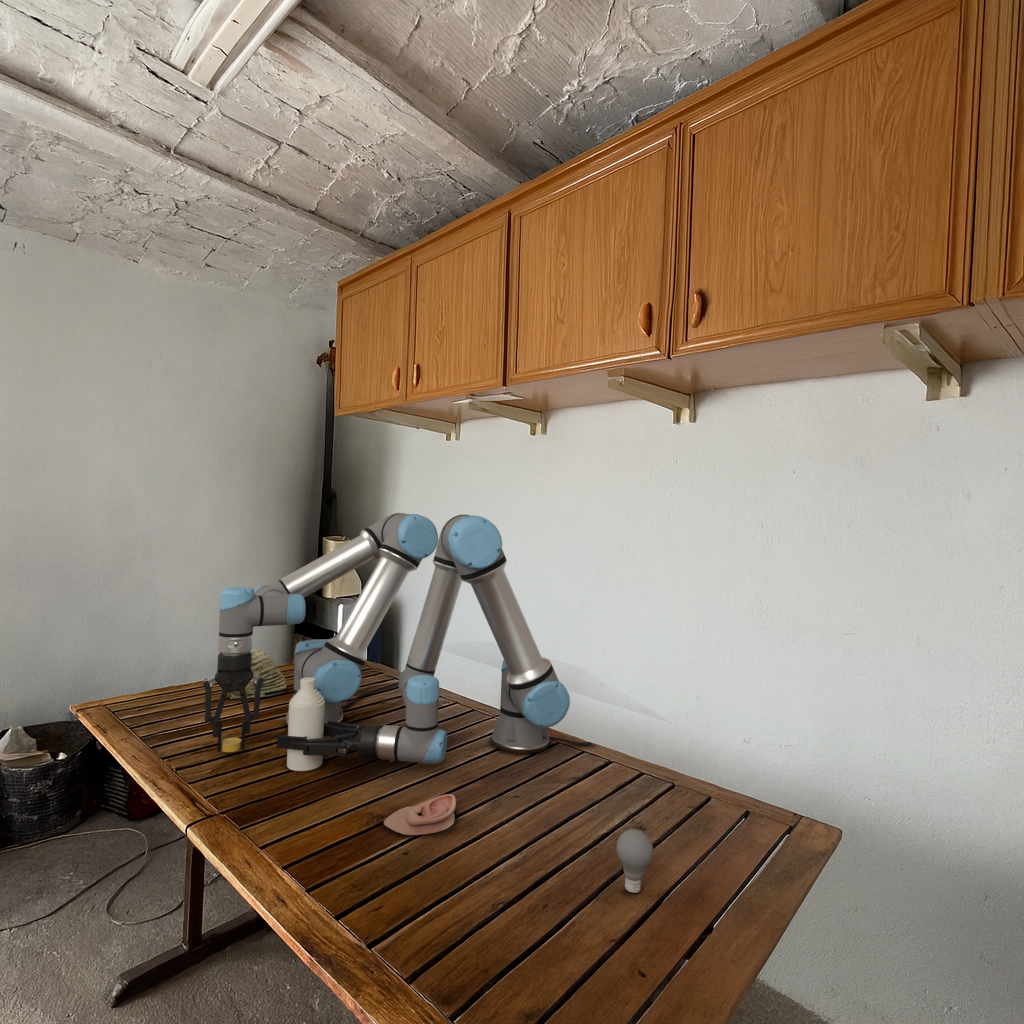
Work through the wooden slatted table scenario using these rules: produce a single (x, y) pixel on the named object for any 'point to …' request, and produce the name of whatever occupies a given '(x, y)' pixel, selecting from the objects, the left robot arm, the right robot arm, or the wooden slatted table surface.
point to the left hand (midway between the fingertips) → (231, 748)
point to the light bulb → (634, 857)
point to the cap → (231, 744)
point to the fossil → (264, 676)
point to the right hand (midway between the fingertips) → (286, 734)
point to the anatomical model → (424, 816)
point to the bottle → (305, 724)
